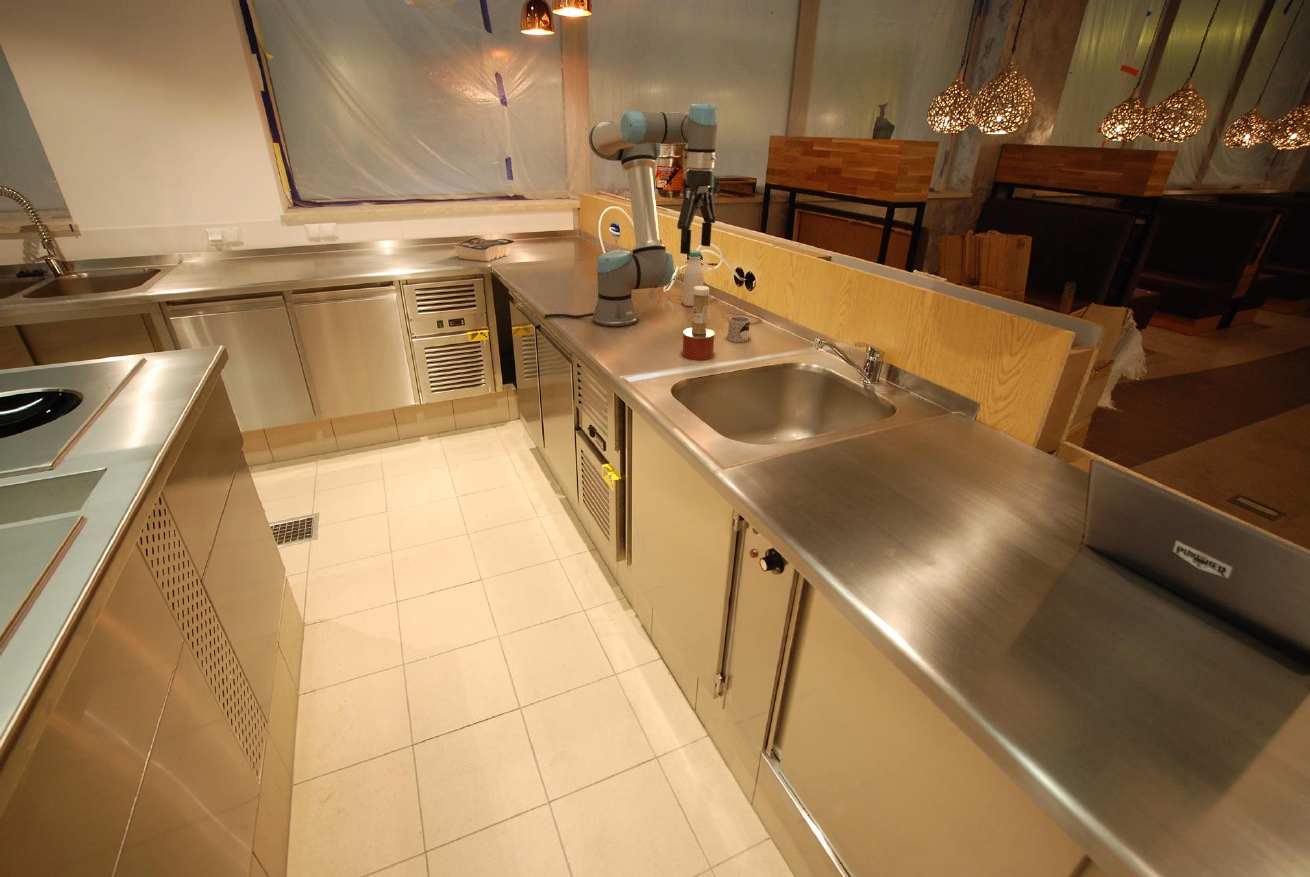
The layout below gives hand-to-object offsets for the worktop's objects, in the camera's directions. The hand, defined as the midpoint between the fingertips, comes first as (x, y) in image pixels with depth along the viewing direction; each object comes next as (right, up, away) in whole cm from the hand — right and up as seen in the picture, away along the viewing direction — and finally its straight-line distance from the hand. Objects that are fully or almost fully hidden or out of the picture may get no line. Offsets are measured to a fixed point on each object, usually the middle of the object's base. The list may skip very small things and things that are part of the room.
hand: (695, 249), depth 167 cm
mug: (+16, -22, +22) cm, 35 cm away
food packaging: (-101, +39, +129) cm, 168 cm away
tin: (+1, -30, +7) cm, 30 cm away
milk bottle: (+3, -3, +57) cm, 57 cm away
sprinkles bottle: (+1, -24, +4) cm, 24 cm away
